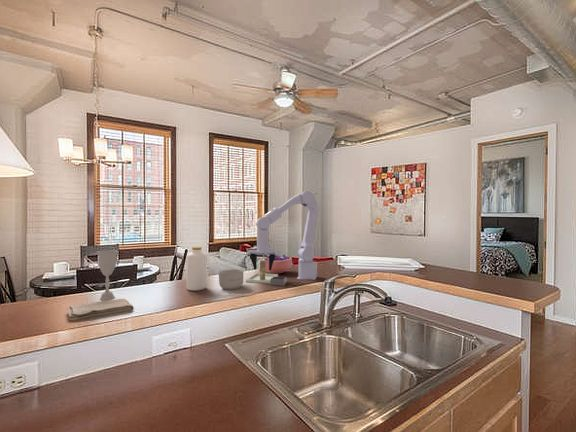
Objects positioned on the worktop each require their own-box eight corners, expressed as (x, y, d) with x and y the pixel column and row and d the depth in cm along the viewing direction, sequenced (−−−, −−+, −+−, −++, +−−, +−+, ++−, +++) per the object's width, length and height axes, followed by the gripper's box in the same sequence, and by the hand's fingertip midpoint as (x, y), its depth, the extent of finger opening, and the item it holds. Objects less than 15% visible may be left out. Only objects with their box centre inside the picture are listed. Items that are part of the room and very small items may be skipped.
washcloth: (66, 313, 102) (66, 304, 102) (126, 304, 113) (126, 295, 113) (68, 323, 93) (68, 313, 93) (134, 312, 104) (134, 303, 104)
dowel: (265, 278, 153) (265, 260, 153) (264, 279, 151) (264, 261, 150) (260, 278, 153) (260, 260, 153) (259, 279, 151) (259, 261, 151)
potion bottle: (182, 289, 133) (182, 247, 132) (196, 285, 140) (196, 246, 140) (196, 292, 129) (196, 248, 128) (210, 288, 136) (210, 247, 136)
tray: (278, 277, 159) (278, 274, 159) (270, 284, 143) (270, 280, 143) (255, 276, 161) (255, 273, 161) (245, 283, 146) (245, 279, 146)
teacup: (230, 293, 127) (230, 274, 127) (212, 289, 134) (212, 270, 134) (253, 287, 138) (253, 269, 138) (236, 283, 145) (236, 266, 145)
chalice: (107, 301, 115) (107, 252, 114) (91, 300, 116) (92, 252, 116) (122, 296, 122) (122, 250, 122) (107, 295, 123) (107, 249, 123)
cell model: (298, 272, 174) (299, 252, 174) (279, 278, 157) (279, 256, 157) (274, 269, 183) (274, 249, 183) (252, 274, 166) (253, 253, 166)
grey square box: (286, 283, 145) (286, 277, 145) (283, 287, 139) (283, 279, 139) (273, 283, 146) (273, 276, 146) (270, 286, 140) (270, 279, 140)
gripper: (246, 242, 150) (245, 270, 150) (275, 243, 147) (275, 271, 147) (250, 241, 156) (250, 267, 157) (278, 241, 154) (278, 269, 154)
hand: (262, 269), depth 152 cm, fingers open, 7 cm apart
